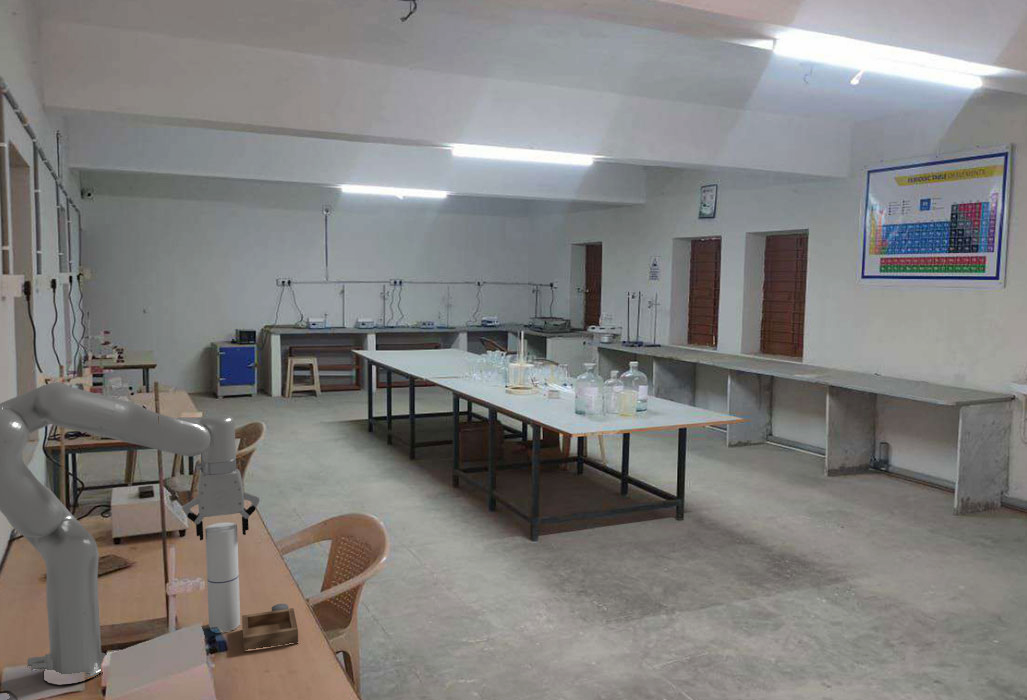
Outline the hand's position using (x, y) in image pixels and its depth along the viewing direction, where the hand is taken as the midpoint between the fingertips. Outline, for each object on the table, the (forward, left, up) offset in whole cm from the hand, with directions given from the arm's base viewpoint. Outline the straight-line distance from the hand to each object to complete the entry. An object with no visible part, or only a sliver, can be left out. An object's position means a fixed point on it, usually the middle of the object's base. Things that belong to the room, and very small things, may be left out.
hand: (223, 535), depth 184 cm
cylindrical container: (0, 0, -23) cm, 23 cm away
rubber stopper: (+13, 0, -23) cm, 26 cm away
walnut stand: (+10, -9, -23) cm, 26 cm away
